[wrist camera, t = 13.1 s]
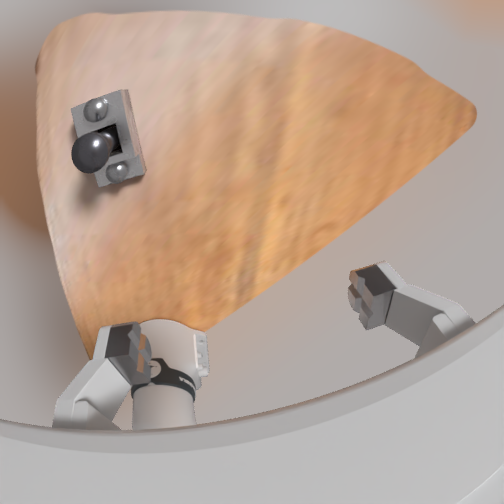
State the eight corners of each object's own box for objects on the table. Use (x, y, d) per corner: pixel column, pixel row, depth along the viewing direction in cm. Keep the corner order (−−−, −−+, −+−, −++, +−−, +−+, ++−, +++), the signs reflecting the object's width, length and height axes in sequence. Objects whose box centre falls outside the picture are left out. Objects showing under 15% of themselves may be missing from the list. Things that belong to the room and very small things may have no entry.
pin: (131, 147, 34) (112, 166, 26) (103, 156, 34) (78, 178, 25) (124, 117, 32) (102, 127, 23) (95, 127, 31) (67, 141, 23)
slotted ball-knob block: (146, 170, 36) (140, 181, 32) (102, 182, 36) (92, 195, 32) (127, 89, 30) (118, 89, 25) (81, 106, 29) (67, 109, 25)
